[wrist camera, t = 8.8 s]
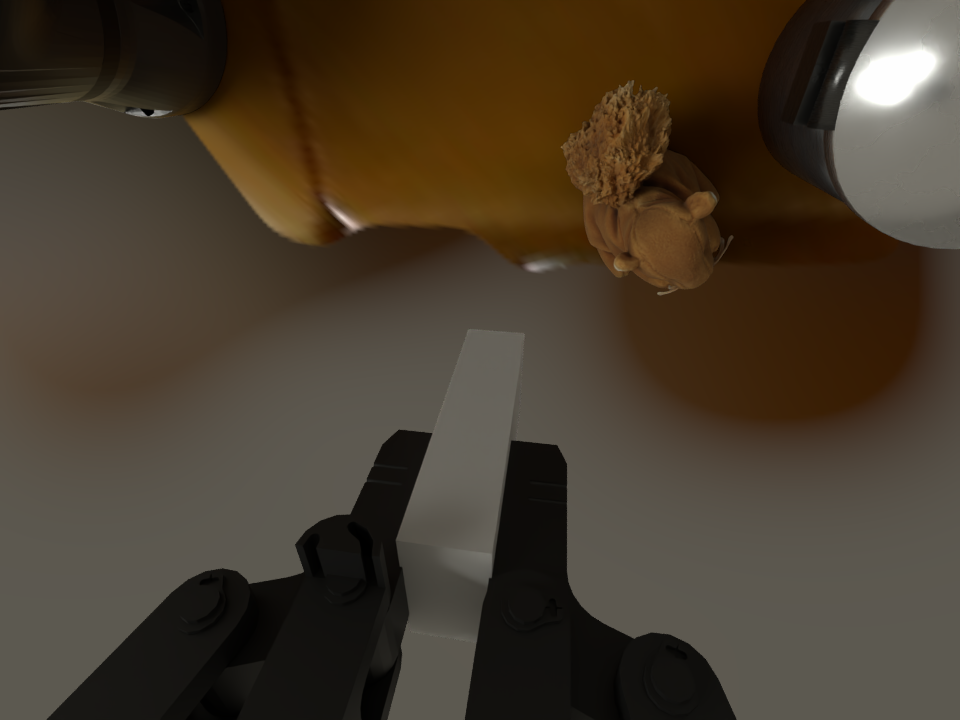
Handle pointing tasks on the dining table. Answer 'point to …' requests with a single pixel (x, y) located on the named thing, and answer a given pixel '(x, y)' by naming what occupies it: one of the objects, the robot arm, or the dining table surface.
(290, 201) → the dining table surface
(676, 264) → the stuffed squirrel
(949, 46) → the lid
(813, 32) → the cooker pot
